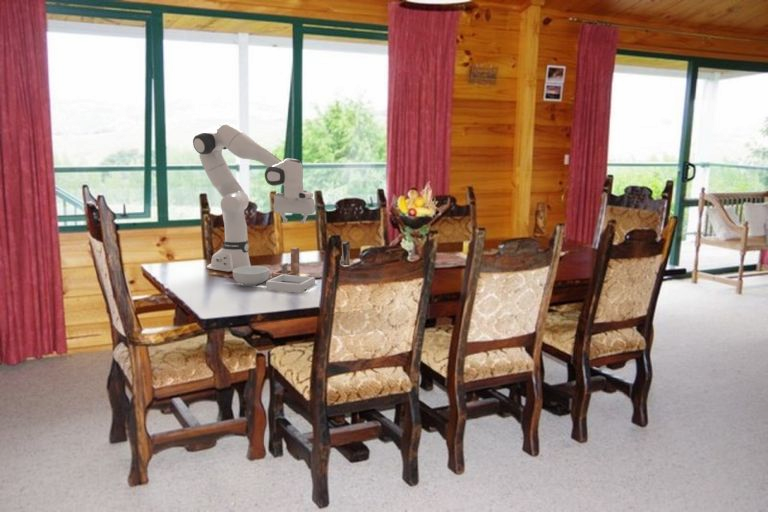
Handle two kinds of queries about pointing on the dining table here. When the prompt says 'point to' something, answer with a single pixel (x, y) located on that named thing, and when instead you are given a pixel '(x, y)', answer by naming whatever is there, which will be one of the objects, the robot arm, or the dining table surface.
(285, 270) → the stake board
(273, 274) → the tabbed ring
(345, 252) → the coffee box
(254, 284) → the cereal bowl
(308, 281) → the grey tray
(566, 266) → the dining table surface
